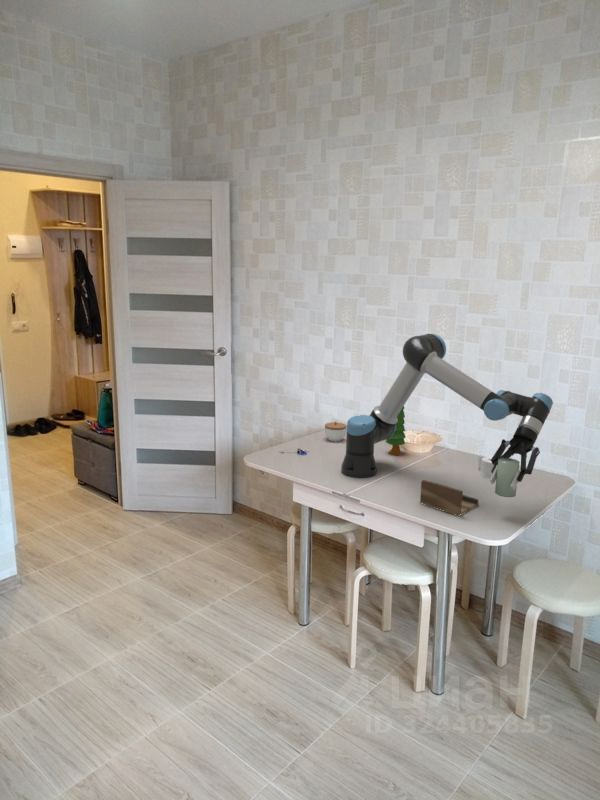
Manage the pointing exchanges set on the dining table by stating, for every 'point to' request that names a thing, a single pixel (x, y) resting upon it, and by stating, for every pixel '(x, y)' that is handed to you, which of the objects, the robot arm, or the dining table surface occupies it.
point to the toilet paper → (485, 466)
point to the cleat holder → (446, 498)
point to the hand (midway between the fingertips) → (501, 485)
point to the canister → (506, 477)
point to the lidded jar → (335, 431)
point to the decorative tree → (397, 435)
